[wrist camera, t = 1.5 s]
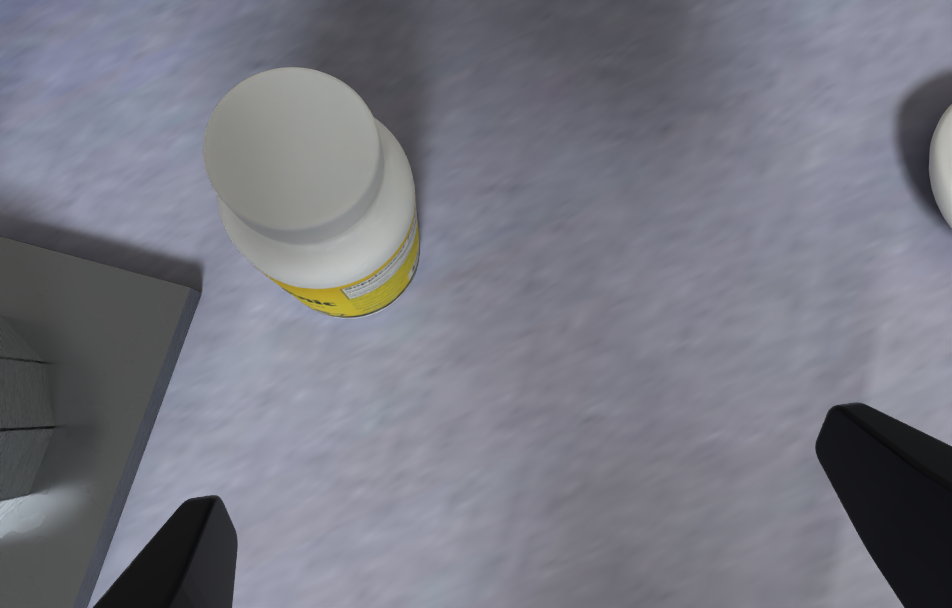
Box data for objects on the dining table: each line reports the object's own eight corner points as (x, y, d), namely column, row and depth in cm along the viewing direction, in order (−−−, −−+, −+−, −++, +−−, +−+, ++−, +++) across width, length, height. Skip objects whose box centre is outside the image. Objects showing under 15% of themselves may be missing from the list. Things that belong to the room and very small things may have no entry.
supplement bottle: (252, 244, 22) (118, 122, 13) (363, 164, 23) (315, -8, 14) (339, 351, 22) (267, 306, 12) (448, 264, 23) (460, 159, 13)
